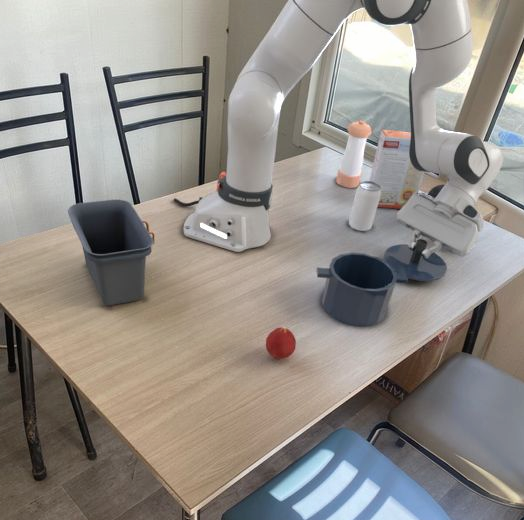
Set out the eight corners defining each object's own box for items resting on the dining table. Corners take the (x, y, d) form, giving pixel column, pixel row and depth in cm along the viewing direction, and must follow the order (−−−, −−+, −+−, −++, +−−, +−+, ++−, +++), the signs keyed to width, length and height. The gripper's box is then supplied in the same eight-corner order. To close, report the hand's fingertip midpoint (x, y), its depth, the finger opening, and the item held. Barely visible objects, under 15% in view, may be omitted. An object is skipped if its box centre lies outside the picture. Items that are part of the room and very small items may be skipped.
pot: (307, 284, 125) (314, 249, 119) (388, 289, 127) (400, 255, 121) (314, 323, 114) (322, 287, 108) (403, 329, 116) (416, 294, 110)
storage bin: (72, 261, 121) (63, 203, 112) (139, 250, 127) (136, 195, 118) (95, 317, 108) (87, 257, 98) (168, 302, 114) (168, 244, 104)
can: (370, 233, 146) (382, 193, 138) (347, 229, 147) (357, 188, 139) (371, 223, 151) (383, 183, 143) (349, 218, 151) (359, 178, 143)
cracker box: (408, 201, 164) (430, 133, 150) (412, 211, 159) (435, 141, 145) (363, 197, 163) (381, 127, 149) (367, 206, 158) (385, 136, 144)
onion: (260, 349, 106) (264, 318, 101) (287, 346, 108) (293, 315, 103) (268, 369, 102) (273, 338, 97) (296, 365, 104) (303, 335, 99)
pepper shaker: (363, 186, 168) (378, 124, 156) (344, 189, 165) (359, 126, 153) (349, 176, 173) (363, 115, 160) (331, 179, 170) (344, 117, 157)
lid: (377, 246, 139) (384, 223, 134) (435, 250, 140) (443, 227, 136) (390, 281, 127) (398, 257, 123) (453, 285, 129) (463, 261, 124)
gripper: (414, 183, 132) (380, 229, 133) (487, 217, 122) (450, 267, 123) (418, 195, 138) (386, 239, 139) (489, 229, 128) (454, 276, 129)
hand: (417, 252), depth 131 cm, fingers closed on lid, 2 cm apart
